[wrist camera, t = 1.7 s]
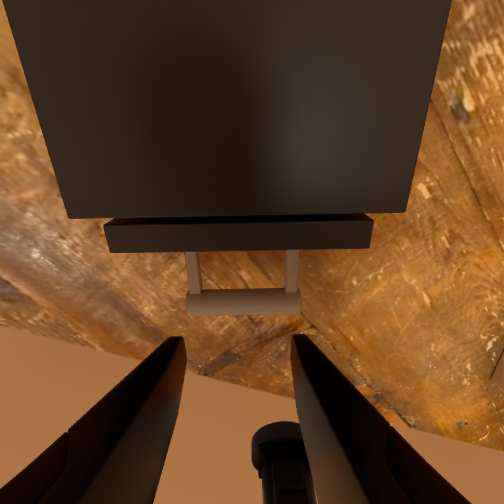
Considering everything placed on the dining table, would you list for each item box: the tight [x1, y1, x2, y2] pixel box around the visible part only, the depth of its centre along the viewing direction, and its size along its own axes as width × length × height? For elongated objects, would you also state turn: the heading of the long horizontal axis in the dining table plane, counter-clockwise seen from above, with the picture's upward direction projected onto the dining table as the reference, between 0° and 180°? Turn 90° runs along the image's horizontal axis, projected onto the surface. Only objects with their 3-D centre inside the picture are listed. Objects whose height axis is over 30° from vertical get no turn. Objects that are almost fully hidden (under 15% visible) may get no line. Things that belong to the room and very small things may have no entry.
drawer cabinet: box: [2, 0, 452, 219], centre depth 10 cm, size 14×12×9 cm
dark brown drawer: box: [103, 213, 374, 316], centre depth 12 cm, size 17×10×7 cm, turn 1°
